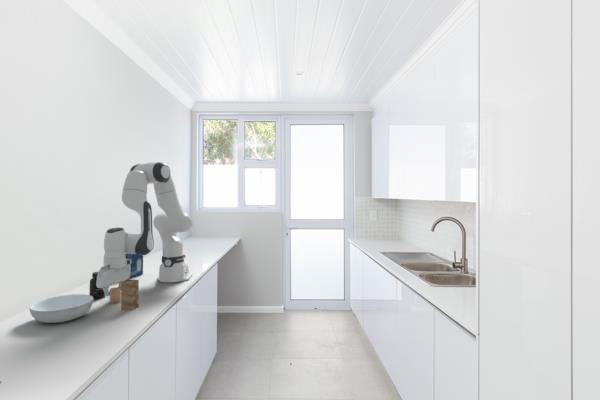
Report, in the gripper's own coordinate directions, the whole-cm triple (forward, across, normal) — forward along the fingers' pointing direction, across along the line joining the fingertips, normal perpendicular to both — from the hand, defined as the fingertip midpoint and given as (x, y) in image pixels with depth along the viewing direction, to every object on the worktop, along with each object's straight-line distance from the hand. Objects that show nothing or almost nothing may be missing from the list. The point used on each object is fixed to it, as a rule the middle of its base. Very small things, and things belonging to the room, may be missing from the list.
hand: (113, 293), depth 158 cm
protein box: (+4, +46, +22) cm, 51 cm away
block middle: (0, -8, -12) cm, 14 cm away
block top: (-4, -8, -12) cm, 15 cm away
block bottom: (+4, -7, -12) cm, 15 cm away
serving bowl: (+5, -23, +6) cm, 24 cm away
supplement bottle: (+4, +5, +12) cm, 13 cm away
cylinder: (+4, 0, 0) cm, 4 cm away
